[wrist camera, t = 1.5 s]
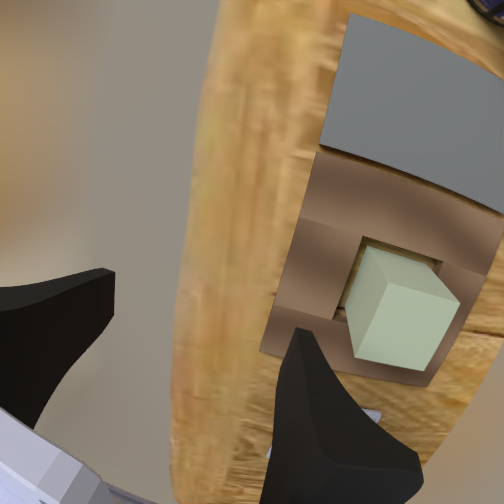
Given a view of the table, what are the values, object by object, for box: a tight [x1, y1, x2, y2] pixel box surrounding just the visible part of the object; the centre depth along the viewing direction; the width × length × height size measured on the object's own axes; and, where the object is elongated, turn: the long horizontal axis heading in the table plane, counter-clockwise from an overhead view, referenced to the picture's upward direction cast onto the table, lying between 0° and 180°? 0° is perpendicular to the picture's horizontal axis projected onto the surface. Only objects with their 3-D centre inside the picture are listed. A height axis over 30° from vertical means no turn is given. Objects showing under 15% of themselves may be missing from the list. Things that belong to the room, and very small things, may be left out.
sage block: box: [344, 245, 460, 371], centre depth 18 cm, size 4×4×6 cm
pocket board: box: [259, 152, 504, 387], centre depth 20 cm, size 14×14×1 cm
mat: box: [319, 13, 504, 214], centre depth 16 cm, size 9×14×1 cm, turn 77°
